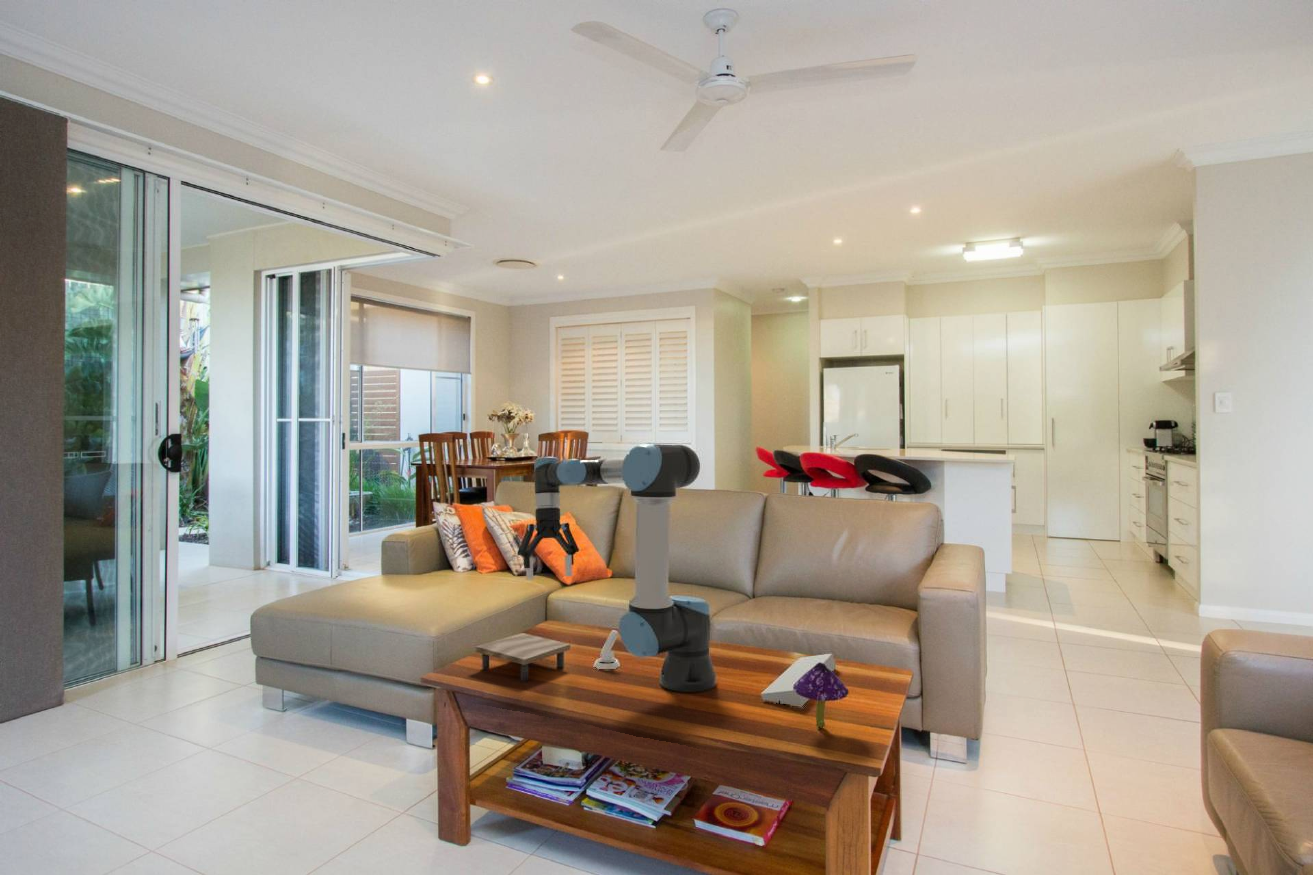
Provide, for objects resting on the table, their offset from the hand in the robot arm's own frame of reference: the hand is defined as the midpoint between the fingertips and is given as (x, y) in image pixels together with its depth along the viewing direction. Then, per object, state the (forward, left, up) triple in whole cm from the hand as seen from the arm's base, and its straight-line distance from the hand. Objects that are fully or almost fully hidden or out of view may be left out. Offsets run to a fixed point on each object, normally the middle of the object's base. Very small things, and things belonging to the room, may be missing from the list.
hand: (549, 578), depth 210 cm
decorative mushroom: (-87, 0, -24) cm, 90 cm away
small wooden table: (-1, +11, -24) cm, 27 cm away
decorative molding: (-71, -25, -25) cm, 79 cm away
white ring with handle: (-19, -5, -24) cm, 31 cm away
